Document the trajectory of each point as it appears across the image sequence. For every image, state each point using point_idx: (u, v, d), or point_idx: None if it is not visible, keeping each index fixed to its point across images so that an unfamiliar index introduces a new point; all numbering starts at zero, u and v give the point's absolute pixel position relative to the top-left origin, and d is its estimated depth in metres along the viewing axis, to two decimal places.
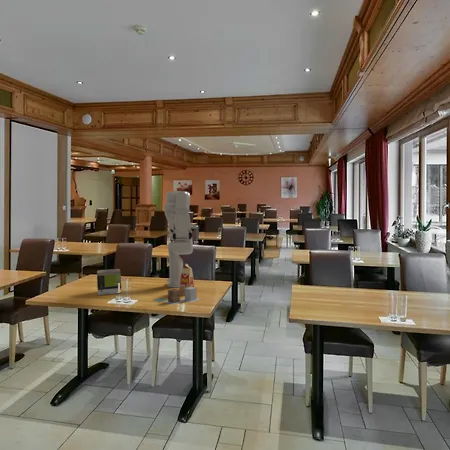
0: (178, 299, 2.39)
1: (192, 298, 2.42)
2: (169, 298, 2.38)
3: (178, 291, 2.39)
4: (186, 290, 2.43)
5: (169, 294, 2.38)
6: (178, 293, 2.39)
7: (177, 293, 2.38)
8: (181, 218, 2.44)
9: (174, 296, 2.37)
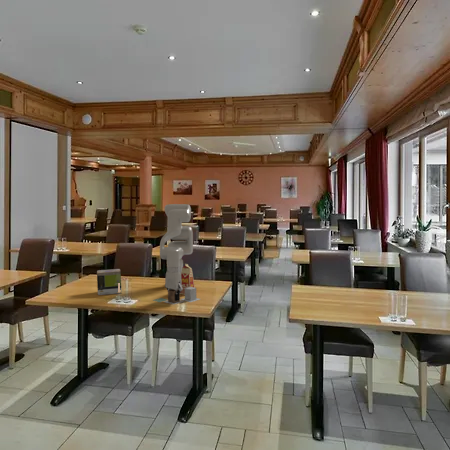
0: None
1: (192, 298, 2.42)
2: (169, 298, 2.38)
3: None
4: (186, 290, 2.43)
5: (169, 294, 2.38)
6: None
7: None
8: None
9: (174, 296, 2.37)
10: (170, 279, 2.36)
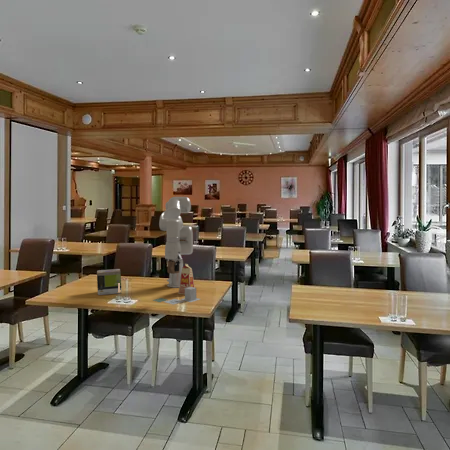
0: None
1: (192, 298, 2.42)
2: (169, 269, 2.37)
3: None
4: (186, 290, 2.43)
5: (169, 265, 2.37)
6: None
7: None
8: None
9: None
10: (170, 249, 2.35)
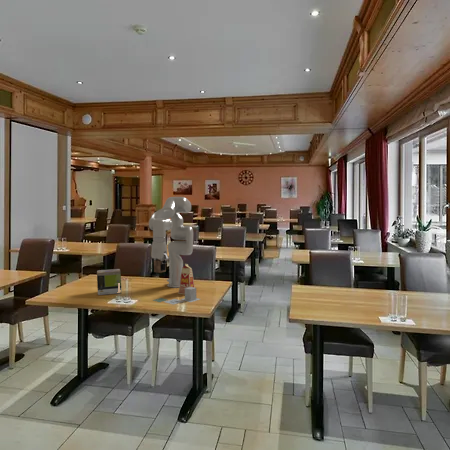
0: None
1: (192, 298, 2.42)
2: (155, 268, 2.41)
3: None
4: (186, 290, 2.43)
5: (155, 264, 2.40)
6: None
7: None
8: None
9: (160, 266, 2.39)
10: (156, 248, 2.38)
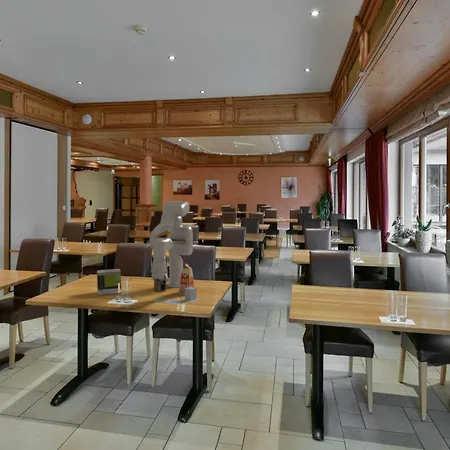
0: None
1: (192, 298, 2.42)
2: (155, 288, 2.41)
3: None
4: (186, 290, 2.43)
5: (155, 284, 2.41)
6: None
7: None
8: None
9: (160, 286, 2.40)
10: (156, 269, 2.39)
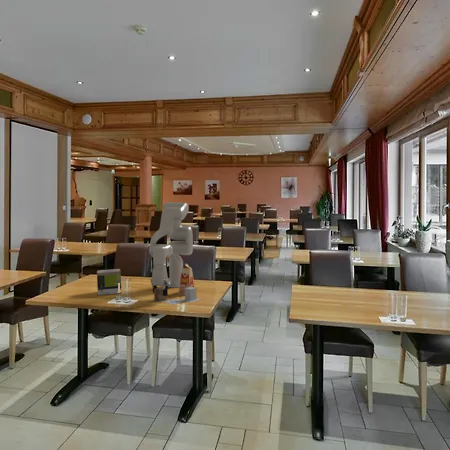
0: (164, 297, 2.43)
1: (192, 298, 2.42)
2: (155, 296, 2.42)
3: None
4: (186, 290, 2.43)
5: (155, 293, 2.42)
6: None
7: None
8: None
9: (160, 295, 2.40)
10: (156, 275, 2.40)
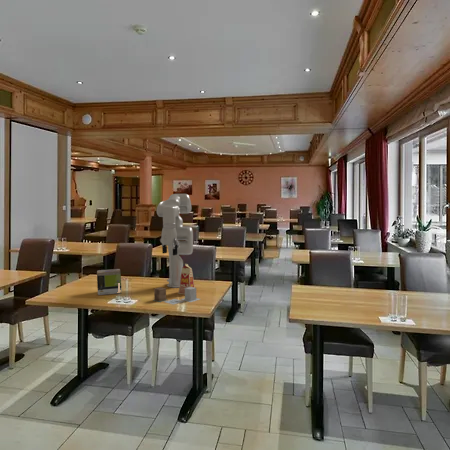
0: (164, 297, 2.43)
1: (192, 298, 2.42)
2: (155, 296, 2.42)
3: (164, 290, 2.42)
4: (186, 290, 2.43)
5: (155, 293, 2.42)
6: (164, 292, 2.43)
7: (163, 291, 2.42)
8: None
9: (160, 295, 2.40)
10: (166, 235, 2.41)
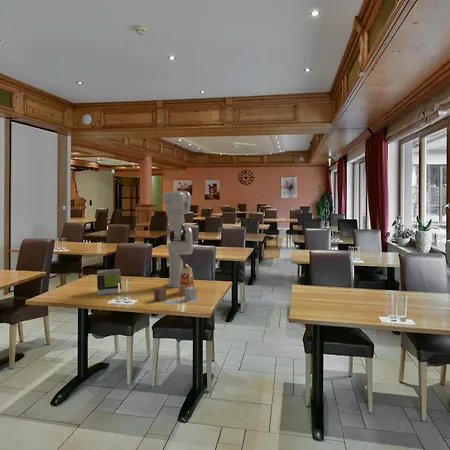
0: (164, 297, 2.43)
1: (192, 298, 2.42)
2: (155, 296, 2.42)
3: (164, 290, 2.42)
4: (186, 290, 2.43)
5: (155, 293, 2.42)
6: (164, 292, 2.43)
7: (163, 291, 2.42)
8: None
9: (160, 295, 2.40)
10: (174, 221, 2.43)
